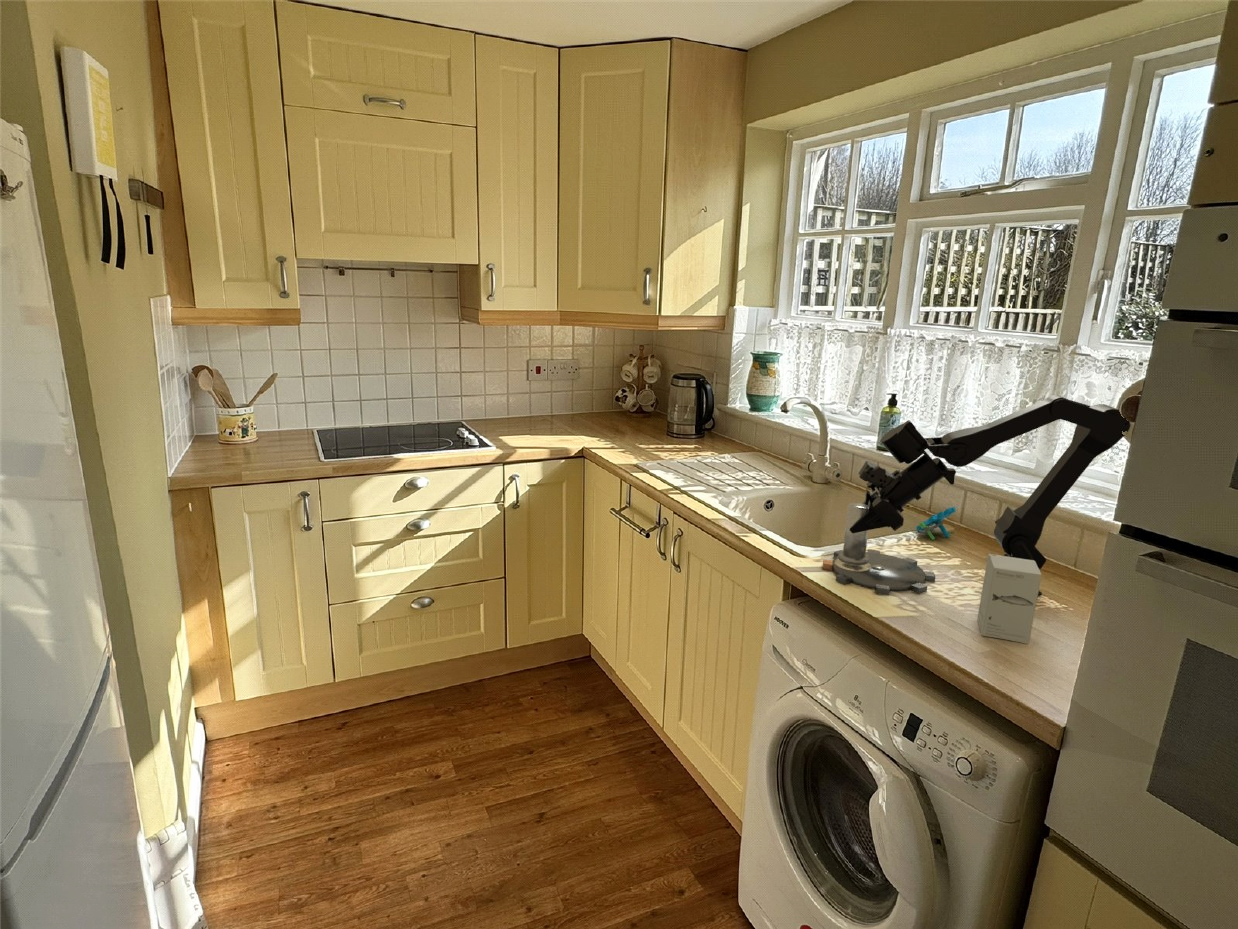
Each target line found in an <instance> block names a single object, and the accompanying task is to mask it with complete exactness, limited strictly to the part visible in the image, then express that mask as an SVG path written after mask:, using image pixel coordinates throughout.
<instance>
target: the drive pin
mask: <svg viewBox="0 0 1238 929" xmlns="http://www.w3.org/2000/svg"><path fill="white" fill-rule="evenodd" d="M867 510H868V505H866V504H863V503H859V502H850V503H848V504H847V510H846V520H845V529H844V540H843V548H842V550H843V551H840V550H839V551H840V552H839V557H838V559H839V560H840V561H842V562H844V563H847V564H851V565H865V564H868V563H869V555H868V554H866V552H867V544H868V542H867V541H868V536H869V530H867V531H862V532H858V533H852V532H851V531H850V530H849V529H850V528H851V527H852V526H853V525H854V523H855V522H856V521H857V520H858V519H859V518H860V517H861V516H862V515H863V514H864V513H865V512H867Z"/></svg>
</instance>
